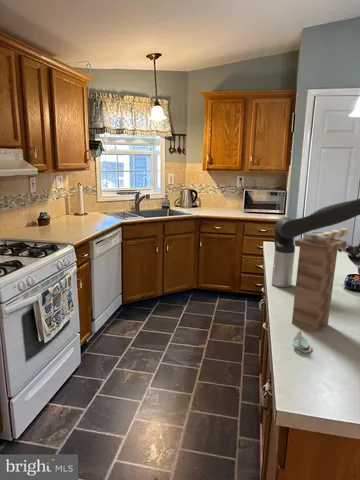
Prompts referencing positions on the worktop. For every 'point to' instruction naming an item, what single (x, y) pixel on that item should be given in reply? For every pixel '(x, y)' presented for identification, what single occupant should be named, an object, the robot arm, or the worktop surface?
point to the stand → (314, 283)
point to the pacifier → (301, 343)
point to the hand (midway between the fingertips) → (348, 243)
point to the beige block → (325, 236)
